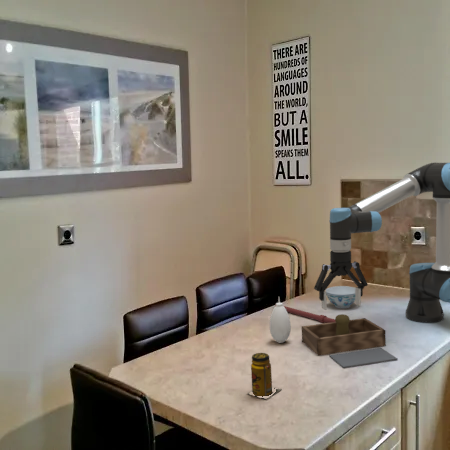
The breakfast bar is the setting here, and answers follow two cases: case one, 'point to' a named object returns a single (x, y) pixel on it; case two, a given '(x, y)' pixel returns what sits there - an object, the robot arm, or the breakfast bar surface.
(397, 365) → the breakfast bar surface
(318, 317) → the red rod with collar
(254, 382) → the condiment
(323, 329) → the wooden box
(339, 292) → the chinaware
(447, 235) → the robot arm
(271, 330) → the white bulb air blower
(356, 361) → the charcoal mat
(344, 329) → the olive dumbbell shape
